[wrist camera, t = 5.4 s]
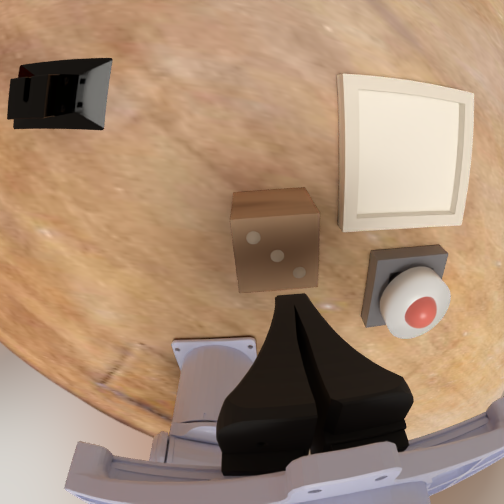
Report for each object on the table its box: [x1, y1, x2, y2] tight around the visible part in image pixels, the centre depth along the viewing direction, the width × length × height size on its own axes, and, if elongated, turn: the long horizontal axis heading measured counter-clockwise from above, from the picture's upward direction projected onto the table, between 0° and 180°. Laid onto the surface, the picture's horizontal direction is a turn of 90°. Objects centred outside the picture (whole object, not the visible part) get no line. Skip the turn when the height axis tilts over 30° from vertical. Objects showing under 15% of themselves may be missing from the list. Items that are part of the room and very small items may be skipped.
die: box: [230, 187, 320, 293], centre depth 20 cm, size 5×5×5 cm
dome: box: [380, 266, 451, 339], centre depth 22 cm, size 6×6×5 cm
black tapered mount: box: [7, 58, 112, 130], centre depth 15 cm, size 12×7×5 cm, turn 78°
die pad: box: [337, 74, 474, 232], centre depth 19 cm, size 11×11×1 cm
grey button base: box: [361, 245, 448, 328], centre depth 24 cm, size 7×7×2 cm
